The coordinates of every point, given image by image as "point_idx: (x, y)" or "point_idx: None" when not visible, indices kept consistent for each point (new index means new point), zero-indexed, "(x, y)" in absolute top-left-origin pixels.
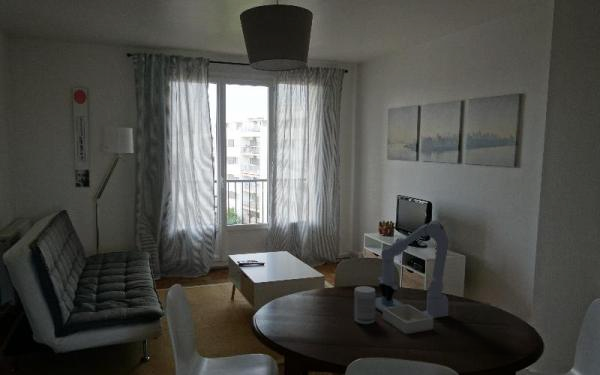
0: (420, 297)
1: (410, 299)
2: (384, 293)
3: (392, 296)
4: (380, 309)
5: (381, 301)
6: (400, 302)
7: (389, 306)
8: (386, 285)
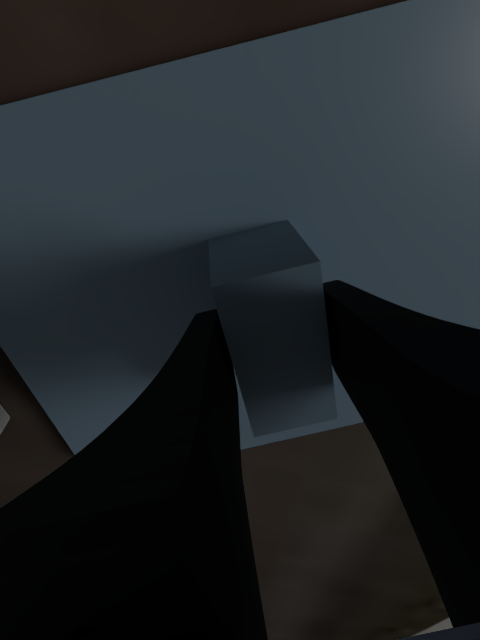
0: (402, 559)
1: (392, 507)
2: (357, 349)
3: (271, 430)
4: (21, 102)
5: (361, 243)
6: (267, 442)
7: (140, 294)
8: (470, 568)
